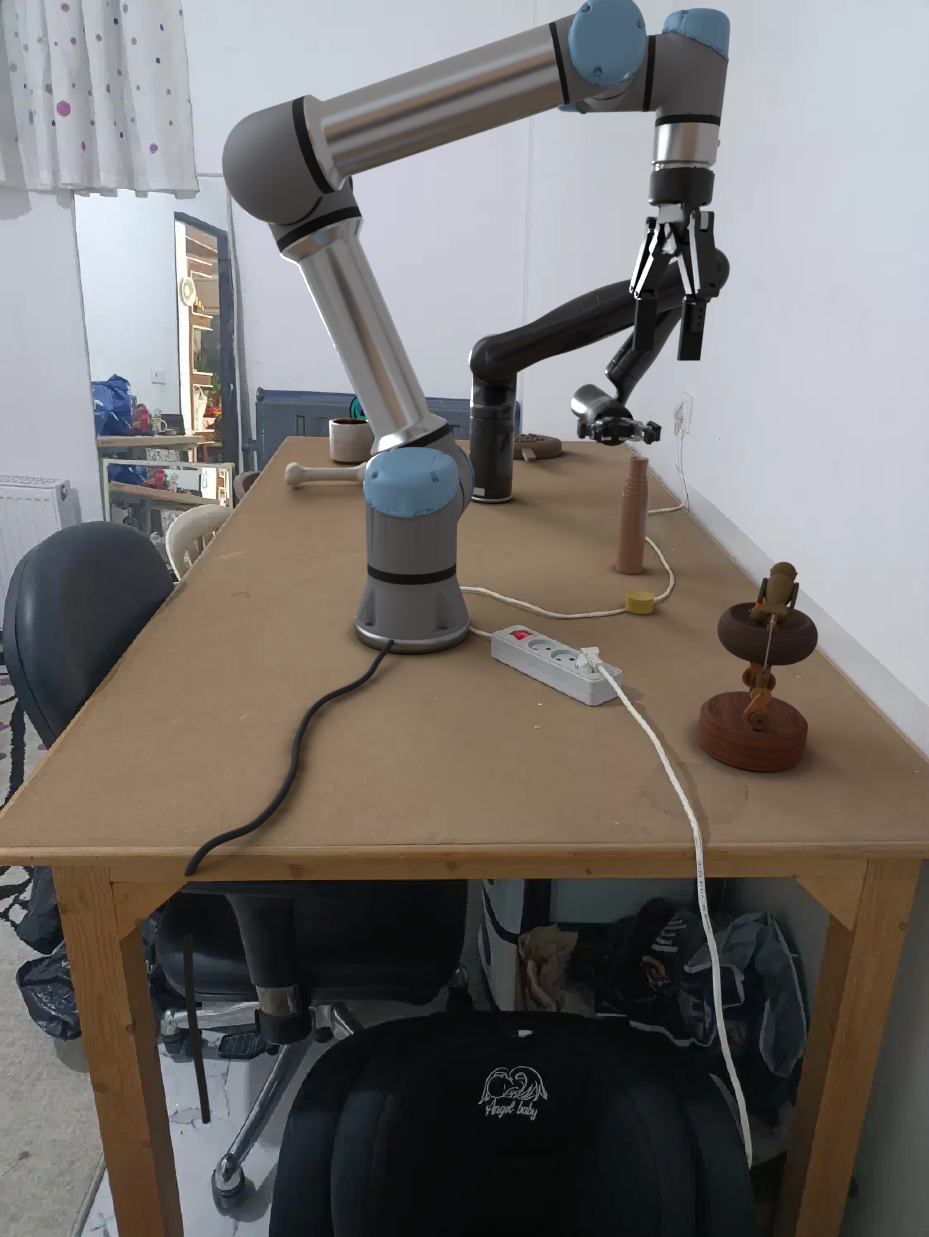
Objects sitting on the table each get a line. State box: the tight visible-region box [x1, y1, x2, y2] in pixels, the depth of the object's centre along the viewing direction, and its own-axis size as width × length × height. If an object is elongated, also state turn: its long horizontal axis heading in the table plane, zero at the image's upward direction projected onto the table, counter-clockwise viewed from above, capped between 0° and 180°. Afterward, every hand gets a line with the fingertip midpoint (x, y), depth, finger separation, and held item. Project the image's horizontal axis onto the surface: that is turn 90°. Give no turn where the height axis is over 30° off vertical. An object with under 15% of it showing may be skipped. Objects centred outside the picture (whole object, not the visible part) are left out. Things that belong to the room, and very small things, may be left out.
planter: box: [328, 417, 373, 464], centre depth 212 cm, size 11×11×10 cm
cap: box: [625, 590, 655, 615], centre depth 121 cm, size 4×4×2 cm
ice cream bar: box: [513, 432, 563, 463], centre depth 220 cm, size 21×28×4 cm
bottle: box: [615, 456, 651, 575], centre depth 135 cm, size 4×4×18 cm
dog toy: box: [283, 461, 369, 487], centre depth 188 cm, size 20×6×5 cm, turn 99°
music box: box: [696, 561, 819, 772], centre depth 84 cm, size 15×11×20 cm
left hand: (664, 355), depth 109 cm, fingers open, 13 cm apart
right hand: (625, 437), depth 142 cm, fingers open, 8 cm apart
